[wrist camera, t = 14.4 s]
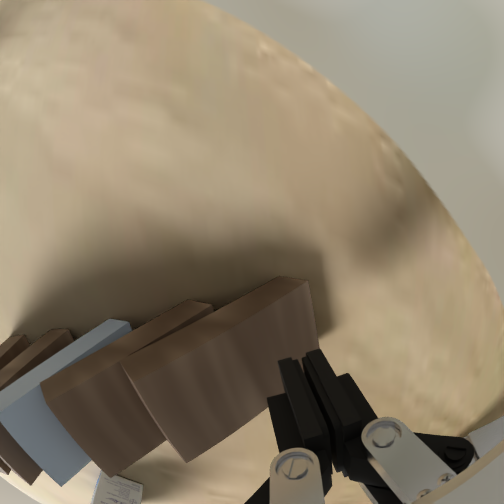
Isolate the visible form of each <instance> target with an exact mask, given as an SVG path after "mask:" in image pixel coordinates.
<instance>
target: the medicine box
mask: <svg viewBox="0 0 504 504" xmlns="http://www.w3.org/2000/svg"><path fill="white" fill-rule="evenodd" d="M142 492H143V485H142V484H139V483H137V482H134V481H131V480H128V479H126V478H123V477H120V476H118V475H115V476H113V477H112V478H110V477H108V476H107V475H106V474H105V473H104V472H103V471H102V470H101V473H100V476H99V479H98V481H97V484H96V487H95V490H94V494H93V497H92V501H91V504H141V500H142Z"/></svg>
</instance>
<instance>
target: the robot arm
mask: <svg viewBox="0 0 504 504" xmlns="http://www.w3.org/2000/svg"><path fill="white" fill-rule="evenodd" d="M277 362H278V366H279V370H280V375H281V379H282V383H283V387H284V391H285V393H282V394H278V395H275V396H271V397H267V402H268V407H269V411H270V415H271V420H272V424H273V428H274V432H275V436H276V441H277V445H278V449H279V454H278V455H277V456H276V457H275V458H274V459H273V461H272V462H271V466H270V477H269V478H268V479H267V480H266V481H265V482H264V484H263V485H262V486H261V487H260V488H259V489H258V490H257V491H256V492H255V493H254V494H253V495H252V496H251V497H250V498H249V499H248V500H247V501H246V502H245V503H244V504H325V500H324V497H325V495H326V494H327V493H328V491H329V490H330V488H331V487H332V478H331V474H333V471H332V463H333V465H334V468H335V470H336V472H340V471H342V473H343V475H344V477H347V476H348V477H349V479H350V480H353V481H356V482H359V485H360V487H361V488H362V489H363V491H364V492H365V493H366V495H367V496H368V498H369V499H370V500H371V502H372V503H373V504H504V416H502V417H500V418H499V419H497V420H495V421H493V422H491V423H489V424H487V425H485V426H483V427H481V428H479V429H477V430H475V431H473V432H470V433H468V435H467V436H466V437H464V438H461V437H452V436H440V435H431V434H422V433H415V432H412V431H411V430H410V429H409V428H408V427H407V426H406V425H405V424H404V423H403V422H401V421H400V420H398V419H396V418H392V417H382V418H378V417H377V416H376V414H375V413H374V411H373V409H372V408H371V406H370V405H369V403H368V402H367V400H366V399H365V397H364V396H363V394H362V392H361V391H360V389H359V388H358V386H357V385H356V383H355V382H354V380H353V379H352V377H351V376H350V374H348V373H346V374H343V375H340V376H336V375H335V373H334V371H333V370H332V368H331V366H330V364H329V363H328V361H327V359H326V358H325V356H324V354H323V353H322V351H321V349H320V348H319V349H316V350H312V351H309V352H306V356H305V357H302V364H303V370H304V372H303V370H302V368H301V365H300V363H299V361H298V359H295V360H292V358H291V357H289V358H285V359H281V360H278V361H277Z"/></svg>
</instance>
